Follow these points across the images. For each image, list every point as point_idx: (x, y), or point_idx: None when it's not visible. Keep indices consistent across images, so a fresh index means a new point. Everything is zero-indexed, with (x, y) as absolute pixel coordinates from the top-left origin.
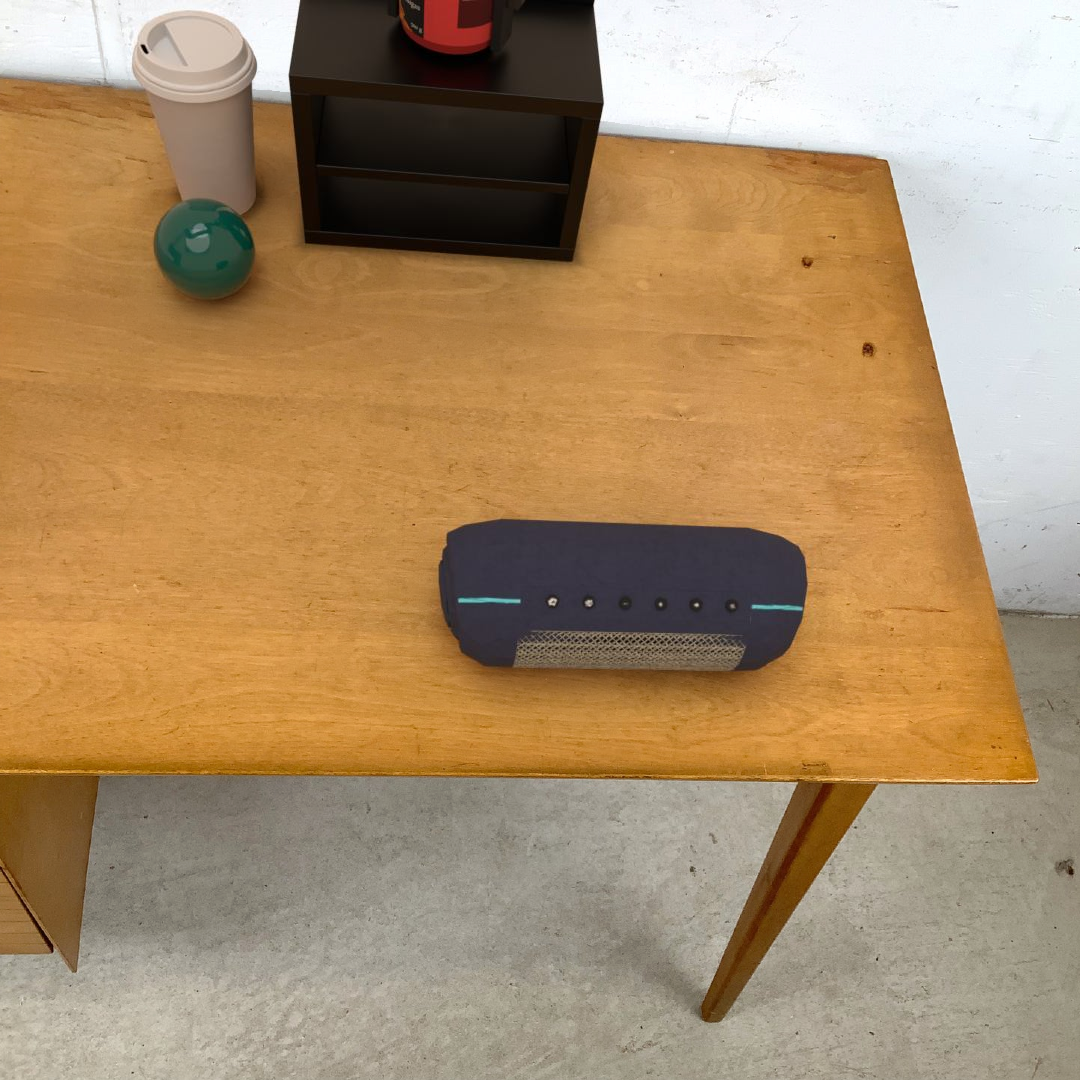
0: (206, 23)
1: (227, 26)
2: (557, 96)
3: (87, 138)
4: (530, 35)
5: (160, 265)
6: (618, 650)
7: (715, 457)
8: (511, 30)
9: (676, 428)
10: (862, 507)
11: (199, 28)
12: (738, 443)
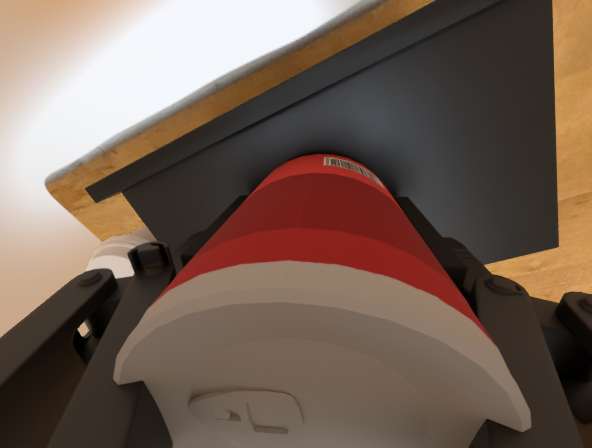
0: (114, 263)
1: (130, 265)
2: (488, 261)
3: (113, 212)
4: (430, 158)
5: None
6: None
7: (557, 288)
8: (409, 199)
9: (530, 278)
10: None
11: (116, 271)
12: (576, 275)
